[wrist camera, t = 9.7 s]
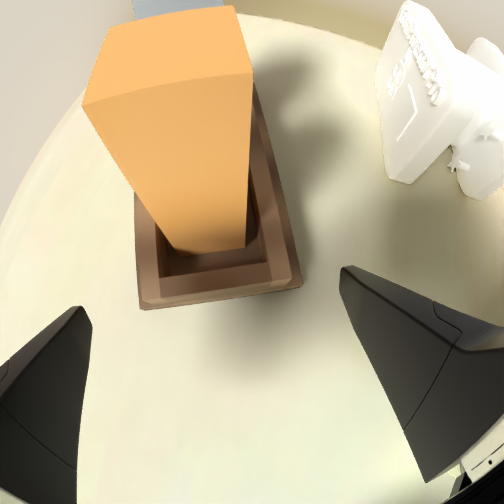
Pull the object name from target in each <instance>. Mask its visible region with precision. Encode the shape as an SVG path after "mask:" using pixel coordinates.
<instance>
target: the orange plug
mask: <svg viewBox="0 0 504 504" xmlns="http://www.w3.org/2000/svg"><path fill="white" fill-rule="evenodd" d="M252 91H253V69H252V66H251V62H250V59H249V55H248V52H247V49H246V45H245V42H244V39H243V35H242V32H241V29H240V25H239V22H238V19H237V16H236V13H235V10H234V6H233V5H232V6H218V7H208V8H200V9H192V10H185V11H179V12H173V13H168V14H163V15H158V16H153V17H148V18H144V19H140V20H136V21H132V22H128V23H125V24H121V25H118V26H114V27H111V28H110V29H109V31H108V33H107V35H106V38H105V40H104V42H103V45H102V47H101V50H100V52H99V55H98V58H97V60H96V63H95V66H94V68H93V71H92V74H91V77H90V80H89V83H88V86H87V89H86V92H85V95H84V99H83V102H82V107H83V109H84V111H85V113H86V114H87V116H88V118H89V119H90V121H91V123H92V125H93V126H94V128H95V130H96V131H97V133H98V135H99V136H100V138H101V139H102V141H103V143H104V144H105V146H106V148H107V149H108V151H109V152H110V154H111V156H112V157H113V159H114V160H115V162H116V163H117V165H118V167H119V168H120V170H121V171H122V173H123V174H124V176H125V177H126V179H127V181H128V182H129V184H130V185H131V187H132V188H133V190H134V191H135V193H136V194H137V196H138V197H139V199H140V200H141V202H142V203H143V205H144V206H145V208H146V209H147V210H148V212H149V213H150V215H151V216H152V218H153V219H154V221H155V222H156V224H157V225H158V226H159V228H160V229H161V231H162V232H163V234H164V235H165V236H166V238H167V239H168V241H169V242H170V243H171V245H172V246H173V248H174V249H175V250H176V252H177V253H178V254H179V256H180V257H183V256H190V255H197V254H204V253H211V252H218V251H225V250H233V249H240V248H245V232H246V210H247V189H248V168H249V148H250V129H251V110H252Z"/></svg>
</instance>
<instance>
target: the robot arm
mask: <svg viewBox="0 0 504 504" xmlns="http://www.w3.org/2000/svg"><path fill="white" fill-rule="evenodd" d="M339 291H340V295H341V297H342V300H343V303H344V305H345V308H346V310H347V313H348V315H349V318H350V321H351V323H352V326H353V328H354V330H355V332H356V334H357V336H358V338H359V340H360V342H361V344H362V346H363V348H364V350H365V352H366V354H367V356H368V358H369V360H370V362H371V364H372V366H373V368H374V370H375V372H376V374H377V376H378V378H379V380H380V382H381V384H382V386H383V388H384V390H385V393H386V395H387V397H388V399H389V401H390V403H391V405H392V407H393V410H394V412H395V414H396V416H397V418H398V420H399V423H400V425H401V427H402V429H403V430H404V434H405V436H406V439H407V441H408V443H409V445H410V448H411V450H412V452H413V455H414V457H415V459H416V462H417V464H418V467H419V469H420V471H421V474H422V476H423V479H424V481H425V483H428V482H430V481H432V480H433V479H435V478H437V477H439V476H440V475H442V474H444V473H445V472H447V471H449V470H450V469H452V468H454V467H455V466H457V465H458V464H460V463H462V465H463V467H464V469H465V470H466V471H465V472H464V473H462V474H461V475H460V476H458V477H457V478H456V480H455V483H454V486H453V489H452V492H451V494H450V497H449V499H447V500H446V501H444V502H442V503H441V504H504V327H499V326H496V325H493V324H490V323H488V322H485V321H482V320H480V319H477V318H474V317H472V316H469V315H466V314H464V313H461V312H459V311H456V310H453V309H451V308H449V307H447V306H444V305H442V304H440V303H438V302H435V301H432V300H431V299H429V298H426V297H424V296H422V295H420V294H418V293H415V292H413V291H411V290H409V289H406V288H404V287H402V286H400V285H397V284H395V283H393V282H390V281H388V280H386V279H384V278H381V277H379V276H377V275H374V274H372V273H370V272H367V271H365V270H363V269H360V268H358V267H356V266H353V265H351V266H345V267H342V268H341V271H340V283H339ZM91 339H92V324H91V321H90V319H89V317H88V315H87V313H86V311H85V309H84V308H83V307H82V306H73V307H71V308H69V309H68V310H67V311H66V312H64V313H63V314H62V315H61V316H59V317H58V318H57V319H56V320H54V321H53V322H52V323H51V324H50V325H48V326H47V327H46V328H45V329H43V330H42V331H41V332H40V333H39V334H37V335H36V336H35V337H34V338H33V339H32V340H30V341H29V342H28V343H27V344H26V345H24V346H23V347H22V348H21V349H20V350H19V351H18V352H16V353H15V354H14V355H13V356H12V357H11V358H10V360H7V361H6V362H5V363H4V364H3V365H2V366H1V367H0V504H77V458H78V444H79V432H80V423H81V414H82V406H83V399H84V392H85V386H86V380H87V374H88V368H89V360H90V349H91Z"/></svg>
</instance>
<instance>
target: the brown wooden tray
mask: <svg viewBox="0 0 504 504" xmlns="http://www.w3.org/2000/svg"><path fill="white" fill-rule="evenodd" d="M134 224H135V252H136V270H137V284H138V295H139V306H140V309H142V310H153V309H161V308H169V307H176V306H184V305H191V304H198V303H205V302H212V301H219V300H226V299H232V298H239V297H245V296H252V295H258V294H264V293H270V292H276V291H282V290H287V289H293V288H299V287H301V286H302V285H303V282H302V277H301V272H300V267H299V262H298V258H297V253H296V248H295V244H294V239H293V235H292V230H291V226H290V221H289V217H288V212H287V208H286V204H285V200H284V195H283V191H282V187H281V183H280V179H279V175H278V171H277V167H276V163H275V159H274V155H273V151H272V147H271V143H270V139H269V135H268V131H267V128H266V124H265V120H264V117H263V113H262V109H261V106H260V102H259V98H258V95H257V91H256V88H255V84H254V82H253V91H252V110H251V129H250V148H249V168H248V189H247V210H246V232H245V248H240V249H233V250H225V251H218V252H211V253H204V254H197V255H190V256H183V257H180V256H179V254H178V253H177V252H176V250H175V249H174V248H173V246H172V245H171V243H170V242H169V241H168V239H167V238H166V236H165V235H164V234H163V232H162V231H161V229H160V228H159V226H158V225H157V224H156V222H155V221H154V219H153V218H152V216H151V215H150V213H149V212H148V210H147V209H146V208H145V206H144V205H143V203H142V202H141V200H140V199H139V197H138V196H137V194H136V193H135V191H134Z"/></svg>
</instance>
